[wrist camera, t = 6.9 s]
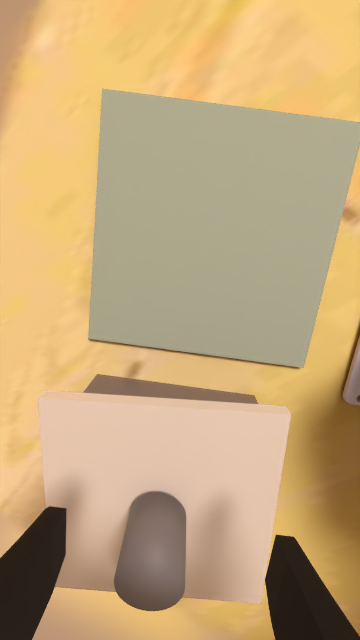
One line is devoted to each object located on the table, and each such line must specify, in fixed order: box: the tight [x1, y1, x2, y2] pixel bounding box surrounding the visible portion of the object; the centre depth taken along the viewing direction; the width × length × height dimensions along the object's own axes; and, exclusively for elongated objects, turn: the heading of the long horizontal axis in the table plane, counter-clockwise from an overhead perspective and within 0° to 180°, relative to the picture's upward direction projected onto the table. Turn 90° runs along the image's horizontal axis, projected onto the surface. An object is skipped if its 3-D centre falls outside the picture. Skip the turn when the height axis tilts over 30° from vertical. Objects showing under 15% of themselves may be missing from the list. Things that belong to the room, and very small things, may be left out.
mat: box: [88, 89, 360, 368], centre depth 17 cm, size 14×14×1 cm
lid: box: [38, 390, 291, 611], centre depth 14 cm, size 12×12×4 cm
